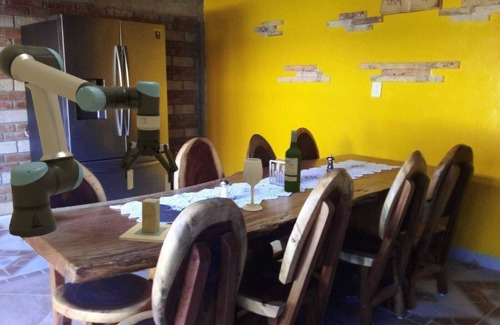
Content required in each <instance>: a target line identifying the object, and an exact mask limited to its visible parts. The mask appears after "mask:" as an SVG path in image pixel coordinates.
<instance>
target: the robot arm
mask: <svg viewBox="0 0 500 325" xmlns="http://www.w3.org/2000/svg"><path fill="white" fill-rule="evenodd" d="M0 71H1V73H2V74H3V75H4V76H5V77H7V78H8V79H12V80H14V81H17V82H19V83H24V87H26V88H28V89H29V90H30V93H31V98H32V103H33V104H32V105H33V109H34V113H35V118H36V124H37V129H38V133H39V138H40V139H39V140H40V144H41V150H42V154H43V155H42V156H41V158H40V159H39V161H31V162H25V163H21V164H18V165H16V166H14V167H13V168H12V169H11V171H10V174H9V175H10V180H9V182H10V188H11V200H12V214H11V218H10V222H9V224H8V232H9V235H11V236H13V237H34V236H35V237H36V236H40V234H42V235H45V233H46V234H48V233H51V232H53V231H55V230H56V229H57V228H58V223H57V219H56V218H55V214H54V212H53V210H52V208H51V201H50V199H51V198H50V197H52V196H54V195H58V194H63V193H66V192H67V193H68V192H71V191H73V190H75V189H76V188H78V187H80V185H81V183H82V182H83V179H84V169H83V166H82V165H81V163H80V162H79V161H78V160H76V159H75V158H74V157H75V156H74V153H71V152H70V151H69V150H68V143H67V138H66V133H65V128H64V122H63V118H62V113H61V106H60V102H59V96H60V97H63V98H64V99H66V100H69V101H72V102H74V103H77V106H79V108H80V109H81V110H82V111H84V112H91V113H92V112H94V113H95V112H101V111H111V110H112V111H114V110H134V111H136V127H137V130H136V140H137V141H136V142H135V141H133V140H132V141H129V142H128V143H127V148H126V151H125V153H124V155H123V157H122V160H121V162H120V163H119V168H120V169H123V170H124V179H125V180H127V190H132V189H133V188H134V169H132V168H133V166H134V165H135V164H136V162H138V160H139V159H140V158H141V157H142V156H143V157H151V158H152V157H154V158H155V159H157V161H158V162H159V164H161V166H162V168H164V170H165V171H166V173H165V176H164V178H165V180H164V181H165V182H164V183H165V188H164V190H165V191H164V192H165V193H169V192H170V191H171V183H172V182H173V181H174V173H176V172H178V171H179V166H178V165H177V163H176V159H175V158H174V155H173V154H172V151H171V149H170V143H168V142H167V143H162V144H161V142H160V141H161V130H160V127H161V113H160V112H161V111H160V110H161V109H160V105H161V94H160V93H161V90H160V84H159V82H157V81H144V80H143V81H141V80H138V81H137V82H136V86H133V87H132V86H124V85H123V86H120V85H113V86H112V85H111V86H101V85H97V84H94V83H92V82H90V81H87V80H85V79H82V78H79V77H77V76H74V75H72V74H69V73H67V72H64V62H63V59H62V57H61V56H60V54H59V53H58V52H57V51H55V50H54V49H52V48H49V47H46V46H37V45H36V46H35V45H24V44H10V45H7V46H5V47H4V48H2V50H0ZM136 148H137V150H138V151H136V153H135V154H134V156H133V157H132V158H131V155H132V153H133V152H134V149H136ZM160 150H162V151H163V152H164V155H165V157H164V156H163V154H162V152H161V151H160ZM166 159H167V160H166Z"/></svg>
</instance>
